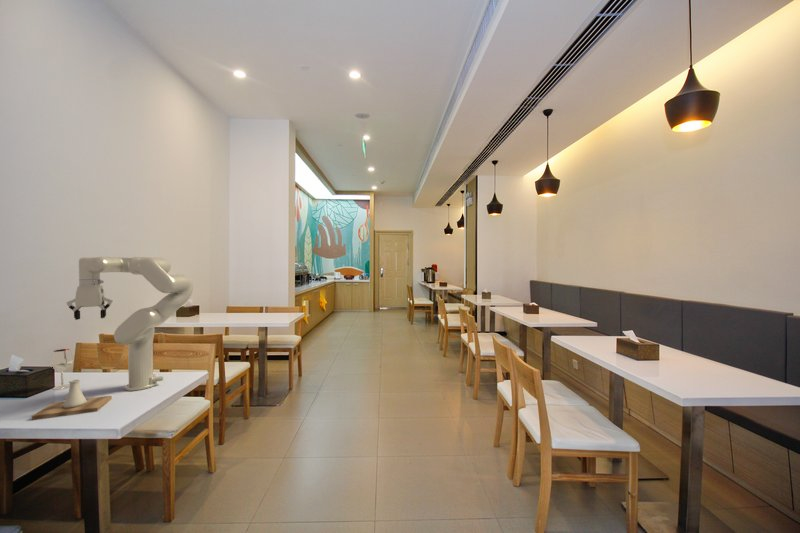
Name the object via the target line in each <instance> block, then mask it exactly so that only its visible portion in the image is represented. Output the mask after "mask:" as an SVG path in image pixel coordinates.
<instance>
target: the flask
mask: <svg viewBox="0 0 800 533" xmlns="http://www.w3.org/2000/svg"><path fill="white" fill-rule="evenodd" d="M80 382H81V380H80V379H79V378H78V379H72V380H69V381H68V383H69V385H70V387H68V392H67V394H66V397H65V399H64V403H63V406H62V407H64V408H71V407H76V406H80V405H83V404H85V403H87V400H86V399H87V398H86V397H85V396H84V394H83V391H82V389H81V387H80Z"/></svg>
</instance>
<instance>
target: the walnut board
mask: <svg viewBox="0 0 800 533" xmlns="http://www.w3.org/2000/svg"><path fill="white" fill-rule="evenodd" d="M112 397H113V396H112V395H106V396H104V395H103V396H98V397H89V398H85V399H86V400H87V403H85V404H83V405H80V406H76V407H71V408H64V407H62V406H63V403H64V401H65V400H64V401H56V402H51V403H50V404H48V405H47V406H45V407H44V408H42V409H41V410H39V411H37V412H36V413H34V414H33V415H31V421H34V420H35V421H36V420H42V419H49V418H50V419H51V418H57V417H65V416H73V415H80V414H86V413H95V412H98V411H99V410H100V409H101V408H103V407H104V406H105V405H106V404H108V403H109V402H110V401H111V400H112Z"/></svg>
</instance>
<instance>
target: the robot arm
mask: <svg viewBox="0 0 800 533" xmlns="http://www.w3.org/2000/svg"><path fill="white" fill-rule="evenodd" d="M171 269H172V264H171V263H170V261H169V260H168V259H166V258H162V257H144V256H143V257H142V256H134V257H121V256H97V257H81V258H79V260H78V284H79V285H78V286H77V287H76V292H75V298H74V299H72V300H71V299H70V300H69V301H67V302H66V305H67V306H68V308H69V309H70V310H72V312H73V318H74V320H75V321H77V320H80V319H81V308H93V307H98V308H100V309H101V310H99V311H100V313H99V314H100V319H106V317H107V309H108V308H110V307H111V305H112V303H113V300H112V299H110V298H107V297H105V296H106V295H105V290H104V286H103V285H101V284H104V280H101V273H131V274H132V275H136V276H137V275H139V276H142V277H143V278H144V279H146V280H147V281H148V282H149V284H151V285H152V287H154V288H155V290H157V291H159V292H160V293H163V294H167V295H165V296H163V297H162V298H161V299H160V300H159V301H158V302H157V303H156V304H154V305H152V306H149V307H143V308H140V309H138V310H136V311H134V312H133V313H132V314H131V315H130V316H129V317H127V318H126V319H125V320H124V321H123V322H122V323H120V324H119V326H117V328H116V329H115V330H114V332H113V339H114V341H115V343H117V344H119V345H121V346H128V351H127V352H128V353H127V355H128V356H127V358H128V360H127V365H128V366H127V367H128V384H126V385H125V386H124V390H125V391H132V392H133V391H142V390H146V389H149V388H153V387H155V386H157V384H158V382H163V381H164V376H162V375H159V376H156V374H155V373H154V365H153V364H154V361H153V360H154V358H153V357H154V355H153V352H154V350H153V348H154V347H153V345H154V337H155V332H156V331H155V327H158V326H161V325H163V324H164V323H165V322H166V321H167V320H168V319H169V318H171V317H172V316H173V314H175V313H176V312H177V311H178V310H179V309H180V308H181V307H183V305H185V304H186V303H187V302H188V301H189V299H190V298H191V296H192V294H193V290H194V285H193V281H192V280H191V278H190V277H189V276H187V275H184V274H168V273H169V272H170V271H171ZM106 302H107V304H106ZM73 304H75V306H74V305H73Z"/></svg>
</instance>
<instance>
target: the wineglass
mask: <svg viewBox="0 0 800 533" xmlns="http://www.w3.org/2000/svg"><path fill="white" fill-rule="evenodd" d="M73 363H74V357H73V354H72V352H71V349H70V348H61V349H55V350H53V351H52V354H51V357H50V360H49V365H50V367H51V368H52V367H53V368H52V369H54V370H55V371H58V372H59V373H60V385H57V386H55V387H53V388H52V389H53V390H62V389H67V388H68V389H69V388H70V384H64V372H65V371H66V370H67V369H68V368H70V367H71V366H72V364H73Z"/></svg>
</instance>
